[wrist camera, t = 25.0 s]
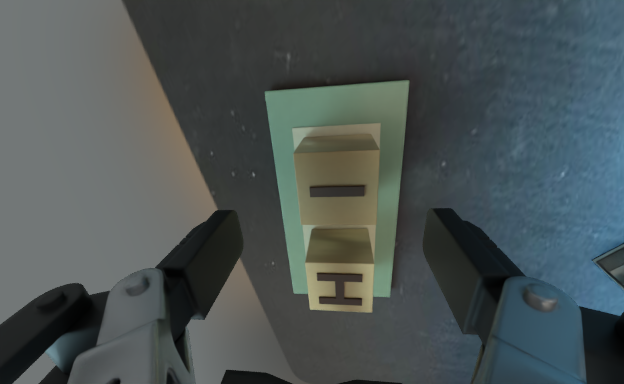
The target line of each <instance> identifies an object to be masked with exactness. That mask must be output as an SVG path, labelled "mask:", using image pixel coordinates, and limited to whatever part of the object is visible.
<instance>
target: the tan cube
mask: <svg viewBox="0 0 624 384" xmlns="http://www.w3.org/2000/svg"><path fill="white" fill-rule="evenodd" d="M293 159H294V168H295V177H296V186H297V195H298V204H299V213H300V222H301V225H376V224H377V206H378V185H379V164H380V149H379V147H378V145H377V144H376V142H375V140H374V138H373V136H372V135H371V134H356V135H337V136H317V137H304V138H303V139H302V141H301V142H300V144H299V145H298V147H297V148H296V150H295V151H294V153H293Z"/></svg>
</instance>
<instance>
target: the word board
mask: <svg viewBox="0 0 624 384" xmlns="http://www.w3.org/2000/svg"><path fill="white" fill-rule="evenodd" d="M409 83H410V81H409V80H400V81H387V82H374V83H361V84H349V85H336V86H323V87H310V88H298V89H285V90H272V91H265V98H266V105H267V112H268V119H269V126H270V133H271V140H272V147H273V153H274V160H275V167H276V174H277V181H278V188H279V195H280V202H281V209H282V215H283V222H284V229H285V236H286V243H287V250H288V257H289V264H290V271H291V277H292V284H293V291H294V293H298V294H308V286H307V277H306V268H305V260H306V255H307V250H308V245H309V240H310V235H311V230H312V229H368V231H369V236H370V242H371V247H372V253H373V258H374V285H373V297H390V292H391V281H392V270H393V259H394V248H395V237H396V226H397V215H398V204H399V193H400V182H401V171H402V160H403V149H404V138H405V127H406V116H407V105H408V94H409ZM356 134H371V135H372V136H373V138H374V140H375V142H376V144H377V145H378V147H379V149H380V164H379V185H378V206H377V224H376V225H301V222H300V213H299V204H298V195H297V186H296V177H295V168H294V159H293V153H294V151H295V150H296V148H297V147H298V145H299V144H300V142H301V141H302V139H303V138H304V137H317V136H337V135H356Z"/></svg>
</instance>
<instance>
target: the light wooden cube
mask: <svg viewBox="0 0 624 384" xmlns="http://www.w3.org/2000/svg"><path fill="white" fill-rule="evenodd" d="M305 268H306V277H307V286H308V295H309V304H310V309H311V310H330V311H350V312H372V306H373V285H374V258H373V253H372V247H371V242H370V236H369V231H368V229H312V230H311V235H310V240H309V245H308V250H307V255H306V260H305Z"/></svg>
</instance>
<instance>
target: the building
mask: <svg viewBox="0 0 624 384" xmlns="http://www.w3.org/2000/svg"><path fill="white" fill-rule="evenodd" d="M592 261H593V262H595V263H596V264H597V265H598V266H599V267H600V268H601V269H602V270H603V271H604V272H605V273H606V274H607V275H608V276H609V277H610V278H611V279H613V280H614V281H615V282H616V283H617V284H618V285H619V286H620V287H621V288H622V289H623V290H624V244H623V245H621V246H619V247H617V248H615V249H613V250H611V251H609V252H607V253H605V254H604V255H602V256H600V257H598V258H596V259H594V260H592Z"/></svg>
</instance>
